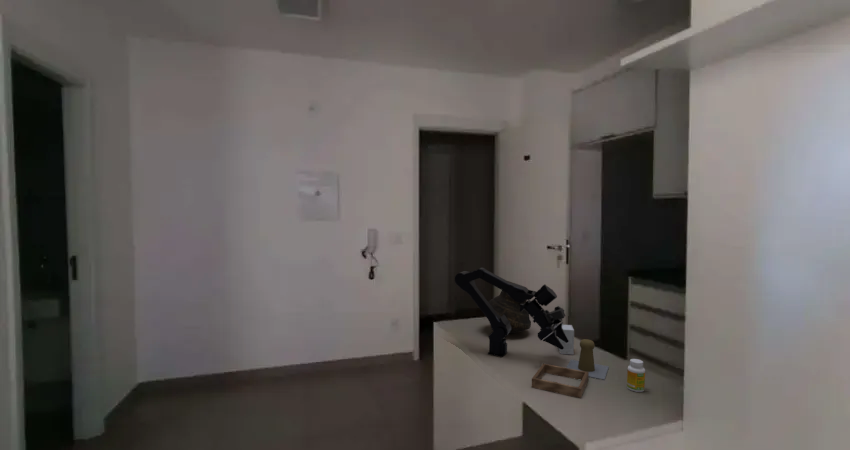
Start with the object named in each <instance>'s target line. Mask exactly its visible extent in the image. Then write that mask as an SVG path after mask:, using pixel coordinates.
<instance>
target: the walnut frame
mask: <svg viewBox="0 0 850 450" xmlns="http://www.w3.org/2000/svg"><path fill="white" fill-rule="evenodd" d="M545 374H549V375H554V376H555V375H556V376H559V377H563V378H569V377H570V378H571V379H574V378H575V380H578V379H581V380H580V383H579V385H578V386H574V385H569V384H565V383H560V382H555V381H552V380H551V381H550V380H546V379H542V378H543V376H544V375H545ZM570 378H569V379H570ZM589 378H590V377H589V372H585V371H580V370H575V369H570V368H566V367H563V366H559V365H553V364H548V363H542V364H541V366H539V369H537V371H535V373H534V374H533V376H532V378H531V388H534V389H539V390H543V391H546V392H551V393H557V394H561V395H565V396H570V397H574V398H579V399H581V398H582V396H583V394H584V392H585V389H586V387H587V385H588V382H589Z"/></svg>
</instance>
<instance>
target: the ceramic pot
mask: <svg viewBox="0 0 850 450" xmlns="http://www.w3.org/2000/svg"><path fill="white" fill-rule="evenodd" d="M507 281H508V280H507ZM508 282H510V283H514V284H516V283H515V282H512V281H508ZM487 301H488V302H489V304H490V305H491V306H492V307H493V309H494V310H495V311H496V313H497V314H499V315H500V316H503V315H505V316H506V318H507V320H508V321H510V325H511V331H510V333H509V334H514V333H521V332H525V331H528V330H530V328H531V326H532V321H531V319H530V315H529V313H528V312H527V311H526V310H525V309H524V310H522V311H521V312H520V304H524V303H525V302H527V301H528V300H525V301H524V302H522V303H518V302H516V301H515V300H513V299H512V298H511V297H510V296H509V295H508V294H507V293H506V292H504V291H503V290H501V291H500V294H499V295H497V296H495V297H494V298H492V299H490V300H487Z"/></svg>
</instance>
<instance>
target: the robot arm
mask: <svg viewBox="0 0 850 450" xmlns="http://www.w3.org/2000/svg"><path fill="white" fill-rule="evenodd" d="M479 279H481V280H483V281H485V282H487V283H488V284H491V285H492V286H494V287H495V288H497V289H499V290H501V291H502V290H503V291H504V292H506V293H507V294H508V295H509V296H510V297H511V298H512V299H513V300H515V301H516V302H518V303H522V302H524V301H525V300H527V301H526V302H525V303H524V304H520V312H521V311H522V310H524V309H525V310H526V311H527V312H528V313H529V317H531V318H532V319H533V320H532V323H534V324H537V326H538V327H539V328H540V330H539V331H538V332H537V338H538V339H539V340H540V341H542V342H546V343H547V344H549V345H552V346H554V347H555V348H557V349H558V348H559V349H561V350H562V349H564V347H563V345H562V344H561V342H560V341H559V339H558V338H560V339H561V340H563V341H564V342H566V343H567V342H568V339H567V337H566V335H565V333H564V331H563V329H562V325H564V324H563V323H564V322H563V319H564V318H565V317H566V313H565V309H564V308H563V307H561V306H559V305H557V306H555V307H554V310H552V311H549V310H548V309H544V308H543V307H547V306H548V305H549V304H551V303H552V302H553V301H554V300H556V299H557V298H558V295H557V294H556V292H555V290H553V289H552V288H550V287H549V286H547V285H546V284H543V285H542V286H541V287H540V288H539V289H537V291H535V290H531V289H529V288H528V287H527V286H524V285H521V284H518V283H515V282H512V283H510V282H511V281H509V282H508V280H507V279H505V278H503V277H500V276H499V275H497V274H495V273H493V272H491V271H490V270H487V269H486V268H485V267H480V268H477V269H474V270H471V271H467V270H464V271H461V272H458V273H457V274H456V275H455V276H454V283H455V285H457V287H459V288H460V289H461V290H462V291H463V292H465V293H467V294H468V295H469V297H470V298H471V299H472V301H473V302H474V303H475V304H476V306H477V307H478V308H479V310H480V311H481V312H482V313H483V315H484V316H485V317H486V319H487V320H488V322H489V324H490V327H491V330H492V332H491V333H490V334H489V335H488V336H487V337H488V339H489V341H488V342H489V343H488V348H489V350H488V352H487V355H490V356H495V357H500V358H503V357H504V356H505V355H507V354H508V343H507V339H506V337H507V336H508V335H509V334H511V333H510V331H511V325H510V321H508V320H507V318H506V316H505V315H503V316H500V315H499V314H497V313H496V311H495V310H494V309H493V307H492V306H491V305H490V304H489V302H488V301H489V300H487V298H486V296H484V294H483V293H482V292H481V291H480V290H479V288H478V286H477V285H476V284H477V283H476V280H479ZM514 283H515V284H514ZM559 349H558V350H559Z"/></svg>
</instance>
